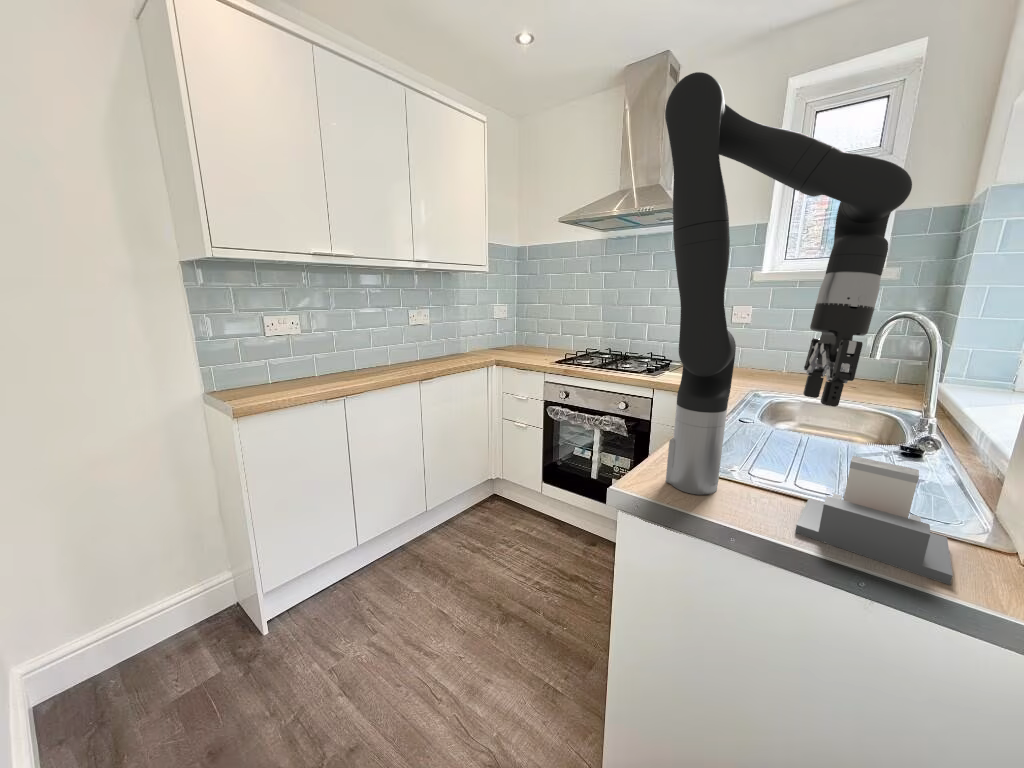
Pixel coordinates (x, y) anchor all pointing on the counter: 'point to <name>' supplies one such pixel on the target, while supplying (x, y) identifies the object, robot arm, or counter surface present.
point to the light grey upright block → (881, 486)
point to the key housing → (878, 536)
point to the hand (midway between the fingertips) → (819, 401)
